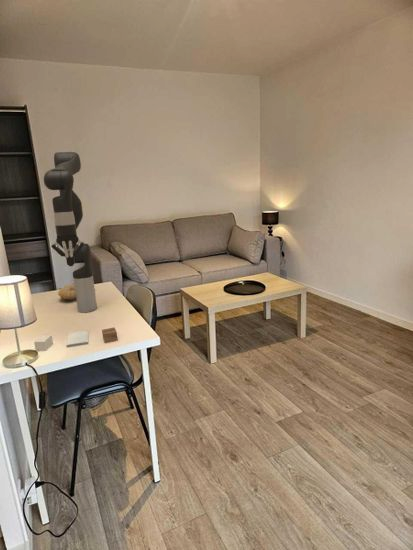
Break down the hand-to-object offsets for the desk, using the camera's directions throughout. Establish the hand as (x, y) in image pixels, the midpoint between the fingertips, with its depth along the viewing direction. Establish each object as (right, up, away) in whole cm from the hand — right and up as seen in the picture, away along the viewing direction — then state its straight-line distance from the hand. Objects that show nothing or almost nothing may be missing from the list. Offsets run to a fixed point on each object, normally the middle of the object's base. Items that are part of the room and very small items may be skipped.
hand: (71, 265), depth 148 cm
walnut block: (+16, -30, -1) cm, 34 cm away
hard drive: (+3, -31, 0) cm, 31 cm away
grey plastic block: (-8, -32, -6) cm, 34 cm away
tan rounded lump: (-16, -17, +54) cm, 59 cm away
